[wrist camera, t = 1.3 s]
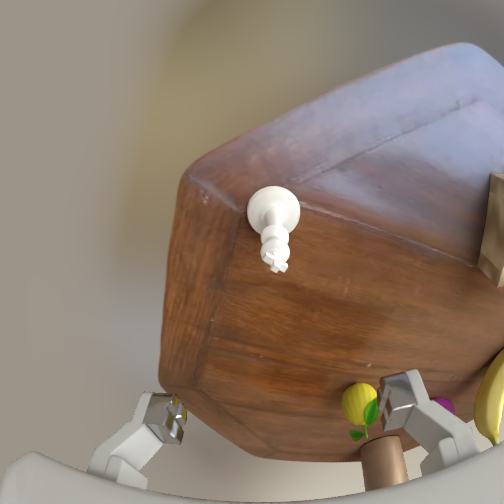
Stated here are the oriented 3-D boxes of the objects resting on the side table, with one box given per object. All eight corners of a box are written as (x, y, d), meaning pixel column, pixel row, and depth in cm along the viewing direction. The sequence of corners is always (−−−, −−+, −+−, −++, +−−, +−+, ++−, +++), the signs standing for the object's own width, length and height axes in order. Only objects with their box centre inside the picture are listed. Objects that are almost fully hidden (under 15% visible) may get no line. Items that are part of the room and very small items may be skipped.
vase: (357, 454, 55) (367, 550, 31) (362, 440, 51) (375, 549, 26) (394, 446, 54) (409, 538, 30) (403, 431, 49) (423, 534, 25)
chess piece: (265, 175, 25) (264, 218, 17) (310, 204, 27) (330, 259, 18) (237, 218, 28) (221, 277, 19) (280, 244, 29) (284, 310, 20)
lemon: (344, 399, 42) (352, 451, 33) (328, 384, 40) (336, 442, 31) (381, 382, 39) (395, 435, 31) (368, 366, 37) (383, 424, 29)
